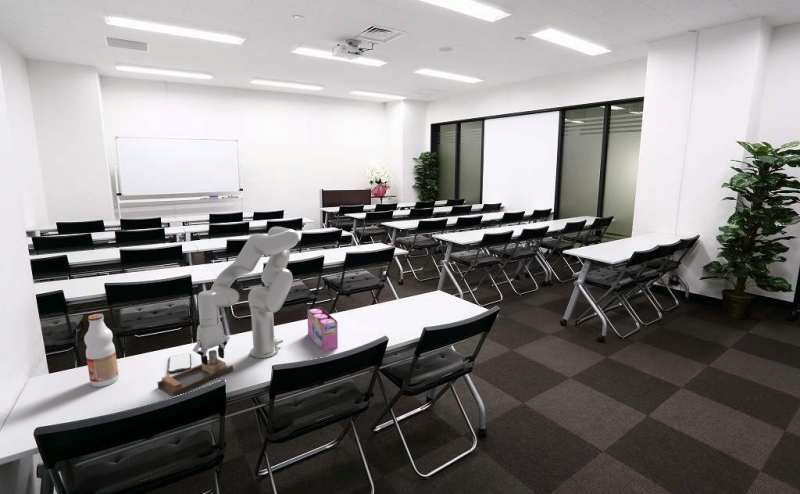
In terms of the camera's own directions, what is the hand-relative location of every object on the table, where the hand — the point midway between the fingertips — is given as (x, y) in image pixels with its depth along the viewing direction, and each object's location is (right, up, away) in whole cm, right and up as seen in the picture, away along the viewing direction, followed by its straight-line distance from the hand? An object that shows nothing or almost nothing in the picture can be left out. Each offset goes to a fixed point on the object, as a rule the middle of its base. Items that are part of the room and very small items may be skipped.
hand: (213, 360), depth 174 cm
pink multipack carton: (+40, +1, +33) cm, 52 cm away
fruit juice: (-40, -7, -7) cm, 41 cm away
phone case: (-18, -4, +7) cm, 20 cm away
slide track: (-4, -6, -5) cm, 9 cm away
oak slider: (0, -4, +1) cm, 4 cm away
